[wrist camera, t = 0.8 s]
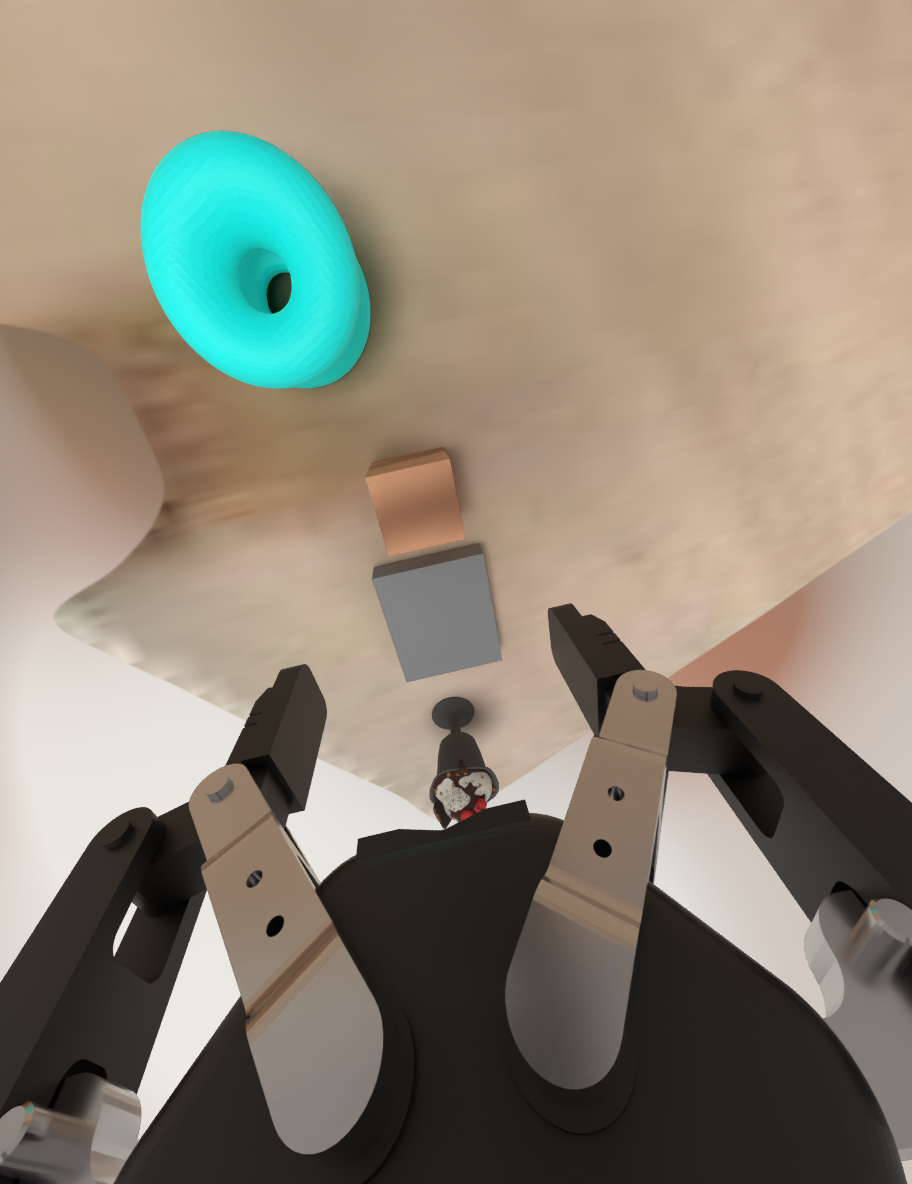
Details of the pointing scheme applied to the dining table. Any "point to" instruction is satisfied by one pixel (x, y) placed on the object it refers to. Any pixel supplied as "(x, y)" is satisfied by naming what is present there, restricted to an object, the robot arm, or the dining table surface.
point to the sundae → (459, 767)
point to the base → (439, 612)
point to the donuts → (253, 262)
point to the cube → (415, 501)
